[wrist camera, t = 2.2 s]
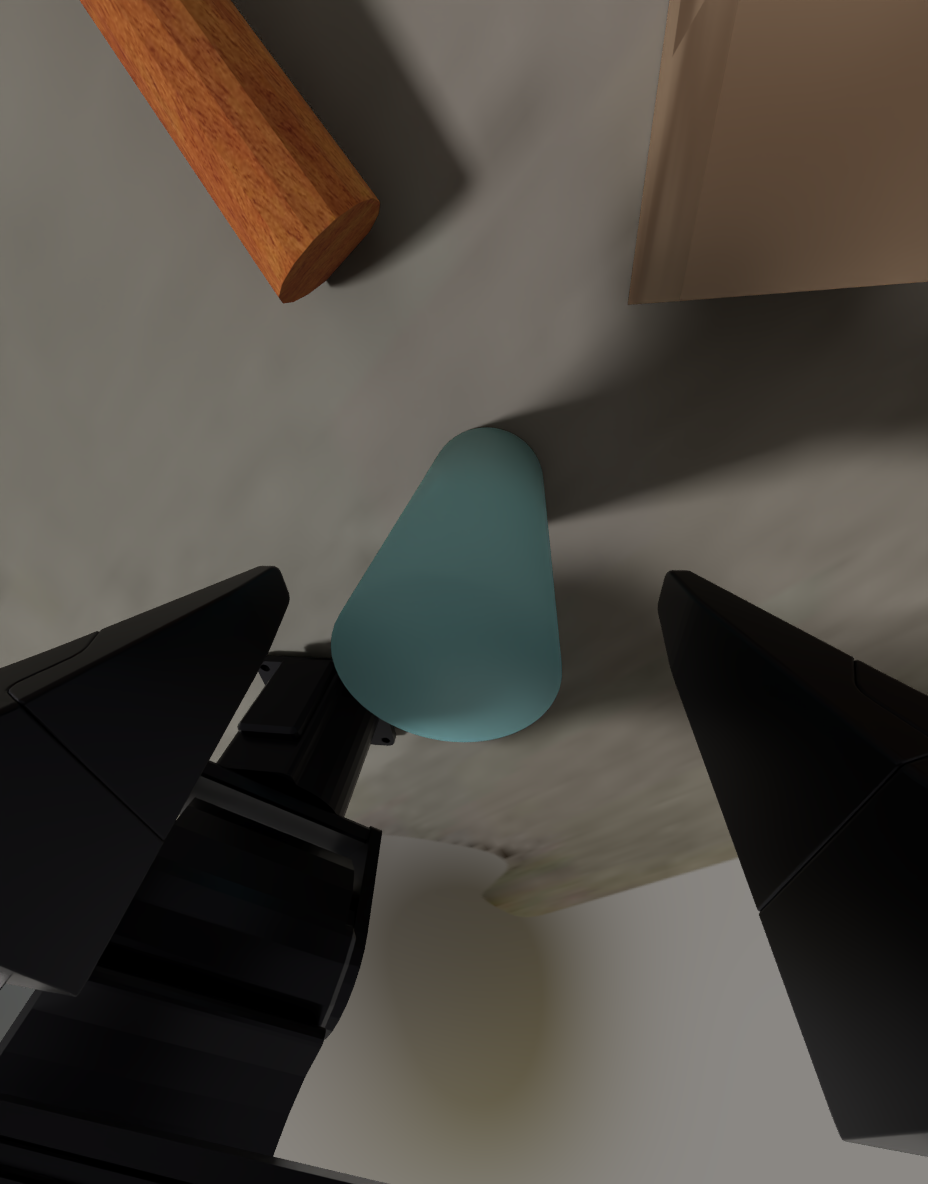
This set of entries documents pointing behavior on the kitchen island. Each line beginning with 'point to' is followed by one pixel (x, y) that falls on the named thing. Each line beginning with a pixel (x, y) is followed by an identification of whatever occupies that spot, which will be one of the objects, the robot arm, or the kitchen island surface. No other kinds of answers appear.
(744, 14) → the hole block
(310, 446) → the kitchen island surface
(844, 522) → the kitchen island surface
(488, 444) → the pin
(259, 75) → the wooden maraca
